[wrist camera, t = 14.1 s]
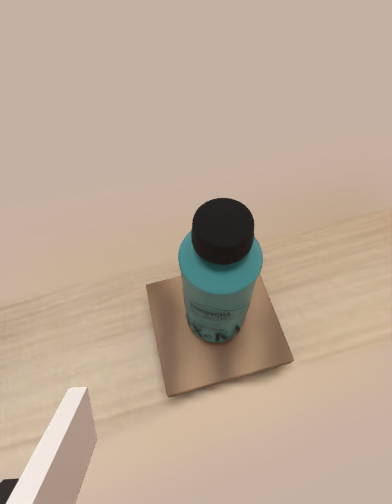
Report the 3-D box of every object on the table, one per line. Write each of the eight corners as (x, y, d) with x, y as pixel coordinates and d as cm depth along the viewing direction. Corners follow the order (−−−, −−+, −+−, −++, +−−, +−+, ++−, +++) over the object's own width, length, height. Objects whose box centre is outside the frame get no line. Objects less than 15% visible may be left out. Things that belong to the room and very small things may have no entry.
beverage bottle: (186, 295, 39) (168, 181, 21) (241, 293, 39) (268, 176, 21) (187, 350, 35) (166, 268, 18) (247, 348, 35) (284, 263, 18)
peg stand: (172, 400, 38) (167, 395, 33) (152, 301, 44) (145, 284, 40) (283, 369, 39) (294, 360, 34) (248, 276, 46) (253, 258, 41)
